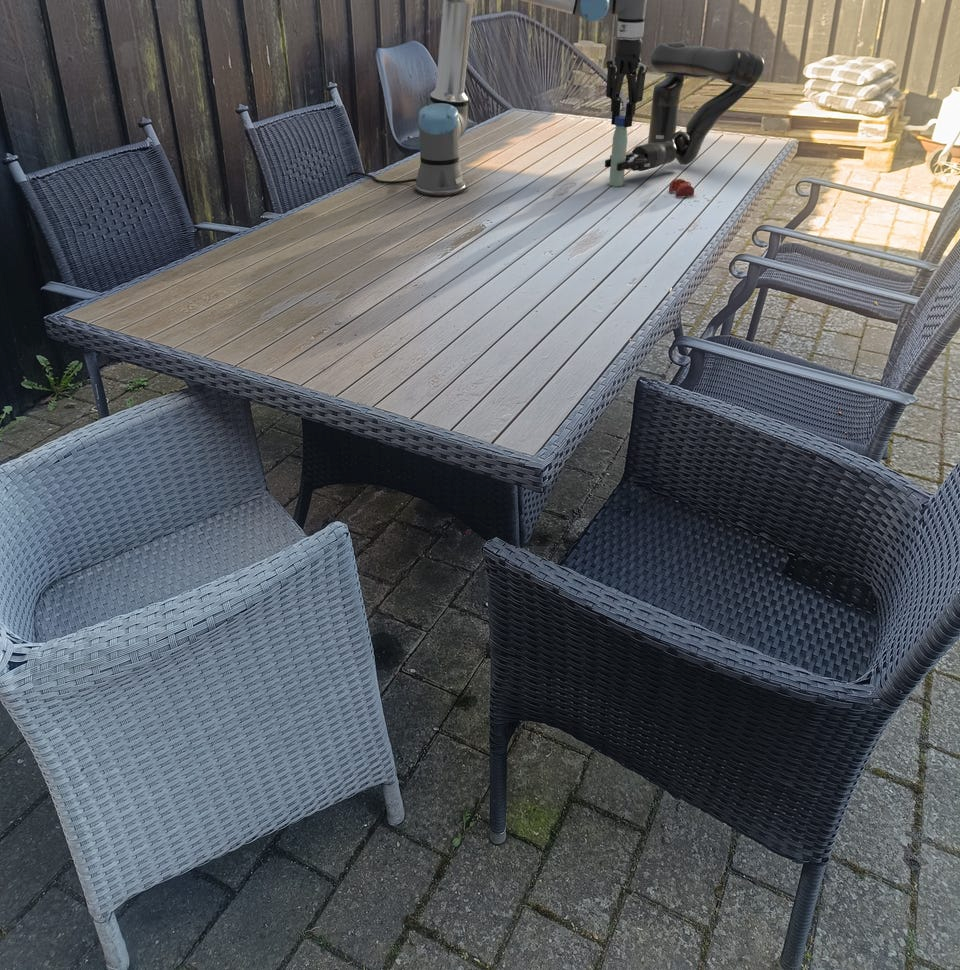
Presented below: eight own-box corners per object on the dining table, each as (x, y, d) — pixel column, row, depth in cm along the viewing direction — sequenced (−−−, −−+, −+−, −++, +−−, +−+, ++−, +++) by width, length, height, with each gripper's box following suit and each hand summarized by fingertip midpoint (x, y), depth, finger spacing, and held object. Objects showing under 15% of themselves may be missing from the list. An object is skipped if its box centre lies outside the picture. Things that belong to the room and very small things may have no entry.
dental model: (685, 174, 256) (697, 182, 250) (683, 188, 258) (695, 196, 252) (668, 176, 255) (679, 184, 249) (666, 190, 257) (678, 199, 251)
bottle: (607, 185, 262) (613, 119, 251) (610, 181, 265) (616, 116, 254) (621, 186, 261) (627, 120, 250) (624, 183, 264) (630, 117, 253)
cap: (613, 126, 252) (613, 118, 251) (615, 122, 255) (616, 114, 254) (627, 127, 251) (627, 119, 249) (629, 123, 254) (630, 115, 253)
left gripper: (597, 36, 242) (591, 122, 256) (646, 42, 232) (636, 132, 246) (613, 33, 247) (606, 118, 260) (662, 40, 236) (652, 128, 250)
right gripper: (633, 139, 269) (595, 148, 260) (667, 148, 260) (630, 157, 251) (630, 163, 274) (594, 173, 265) (664, 173, 265) (627, 183, 256)
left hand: (621, 125), depth 253 cm, fingers closed on cap, 4 cm apart
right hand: (611, 165), depth 258 cm, fingers closed on bottle, 4 cm apart
